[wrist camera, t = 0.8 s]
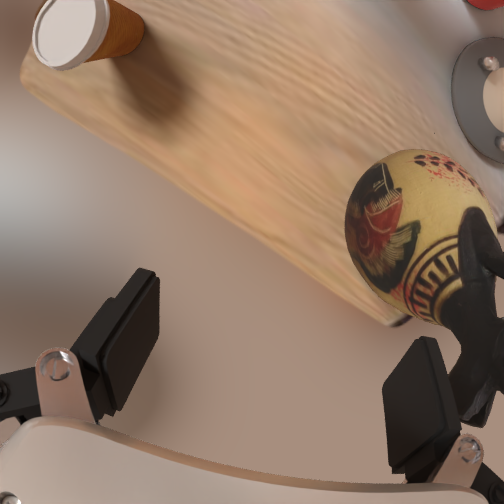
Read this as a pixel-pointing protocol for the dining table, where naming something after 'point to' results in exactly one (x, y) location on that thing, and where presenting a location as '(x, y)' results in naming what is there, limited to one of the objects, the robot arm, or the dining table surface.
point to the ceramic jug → (435, 261)
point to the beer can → (487, 4)
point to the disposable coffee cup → (84, 32)
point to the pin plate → (480, 96)
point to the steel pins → (492, 64)
